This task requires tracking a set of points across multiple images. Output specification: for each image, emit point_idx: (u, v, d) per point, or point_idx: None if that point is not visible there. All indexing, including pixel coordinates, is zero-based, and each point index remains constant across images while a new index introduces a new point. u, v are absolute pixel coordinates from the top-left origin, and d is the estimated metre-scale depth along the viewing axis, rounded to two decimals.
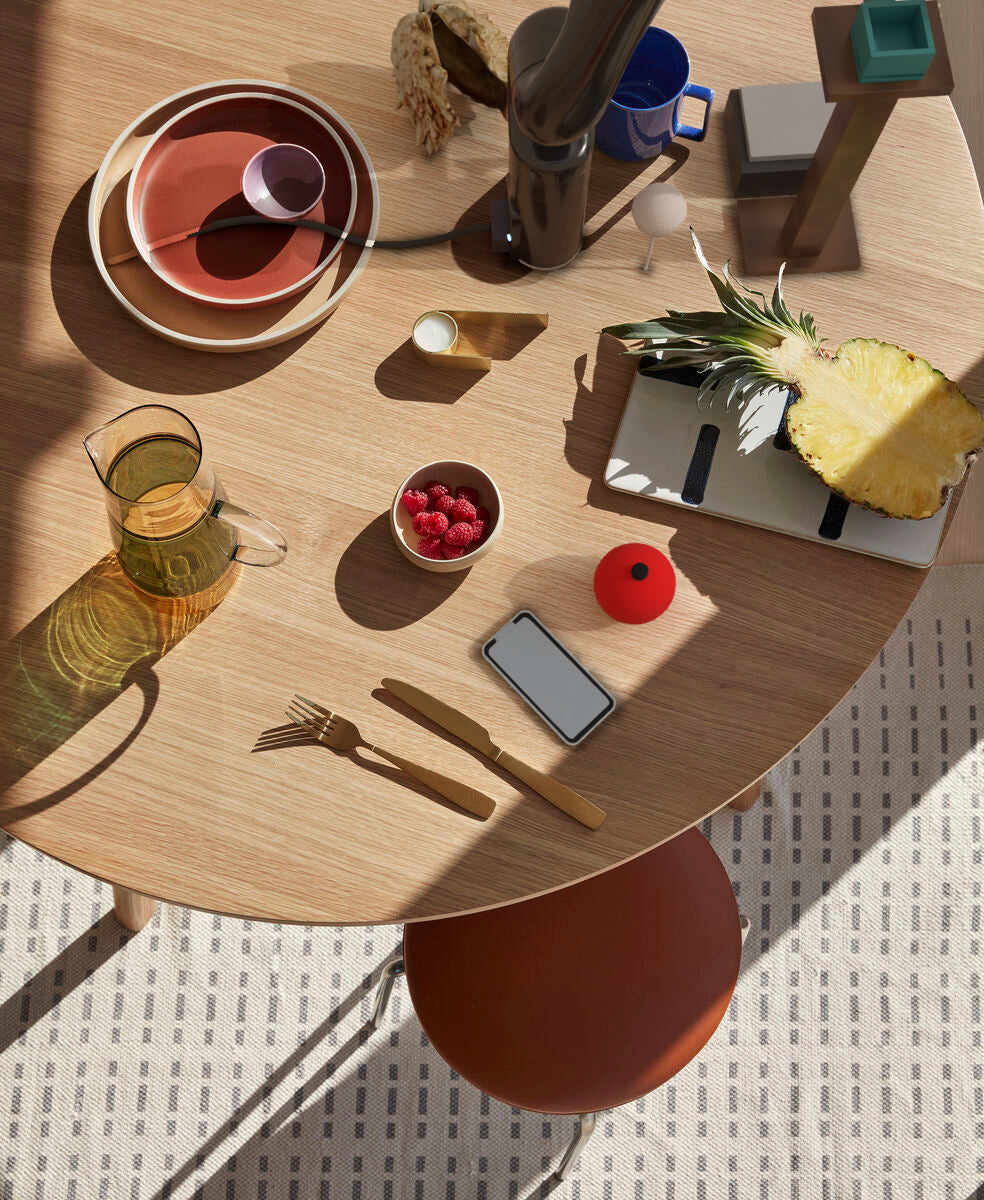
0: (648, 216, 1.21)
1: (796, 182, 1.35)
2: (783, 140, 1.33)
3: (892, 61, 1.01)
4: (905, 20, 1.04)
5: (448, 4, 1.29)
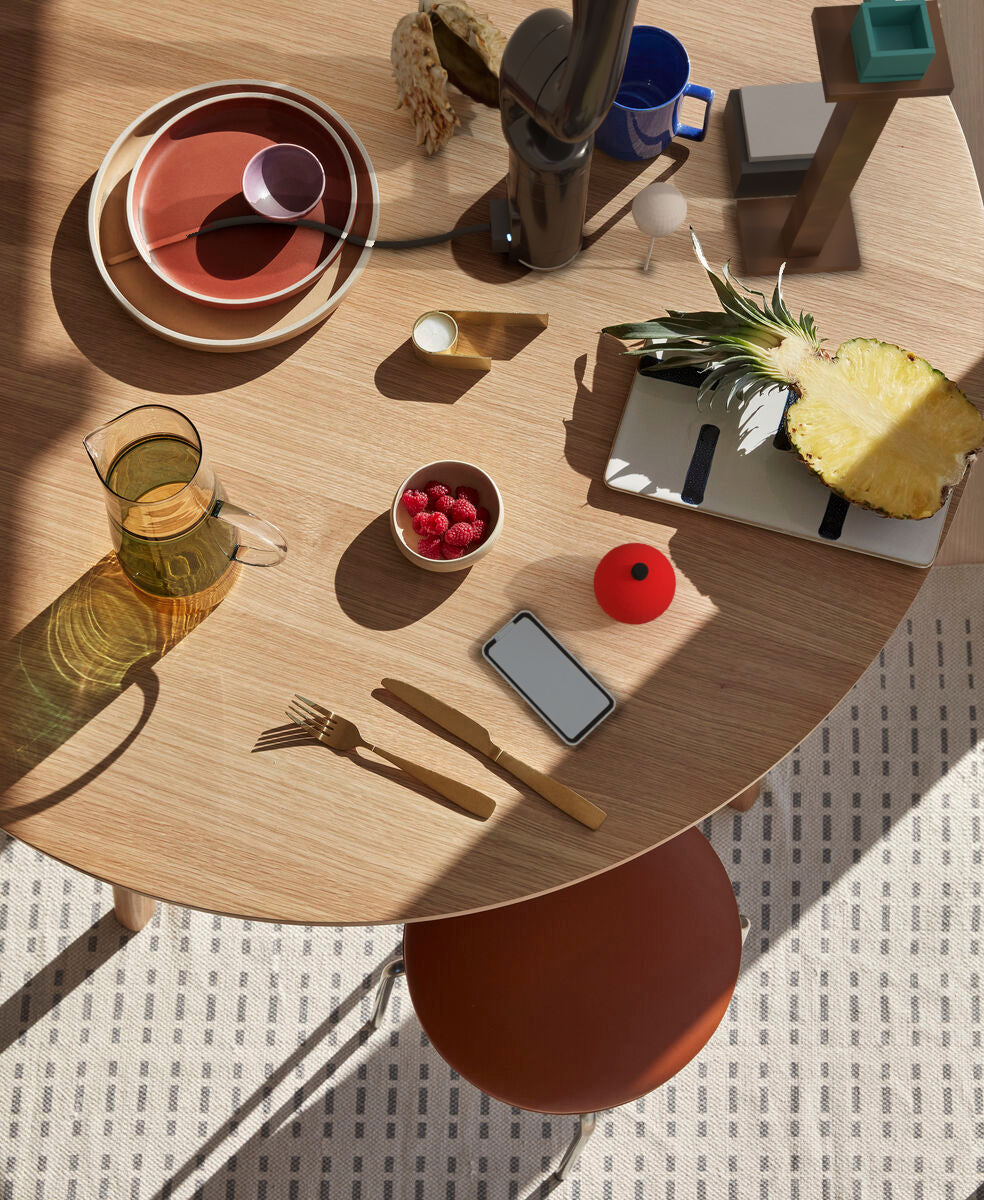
0: (648, 216, 1.21)
1: (796, 182, 1.35)
2: (783, 140, 1.33)
3: (892, 61, 1.01)
4: (905, 20, 1.04)
5: (448, 4, 1.29)
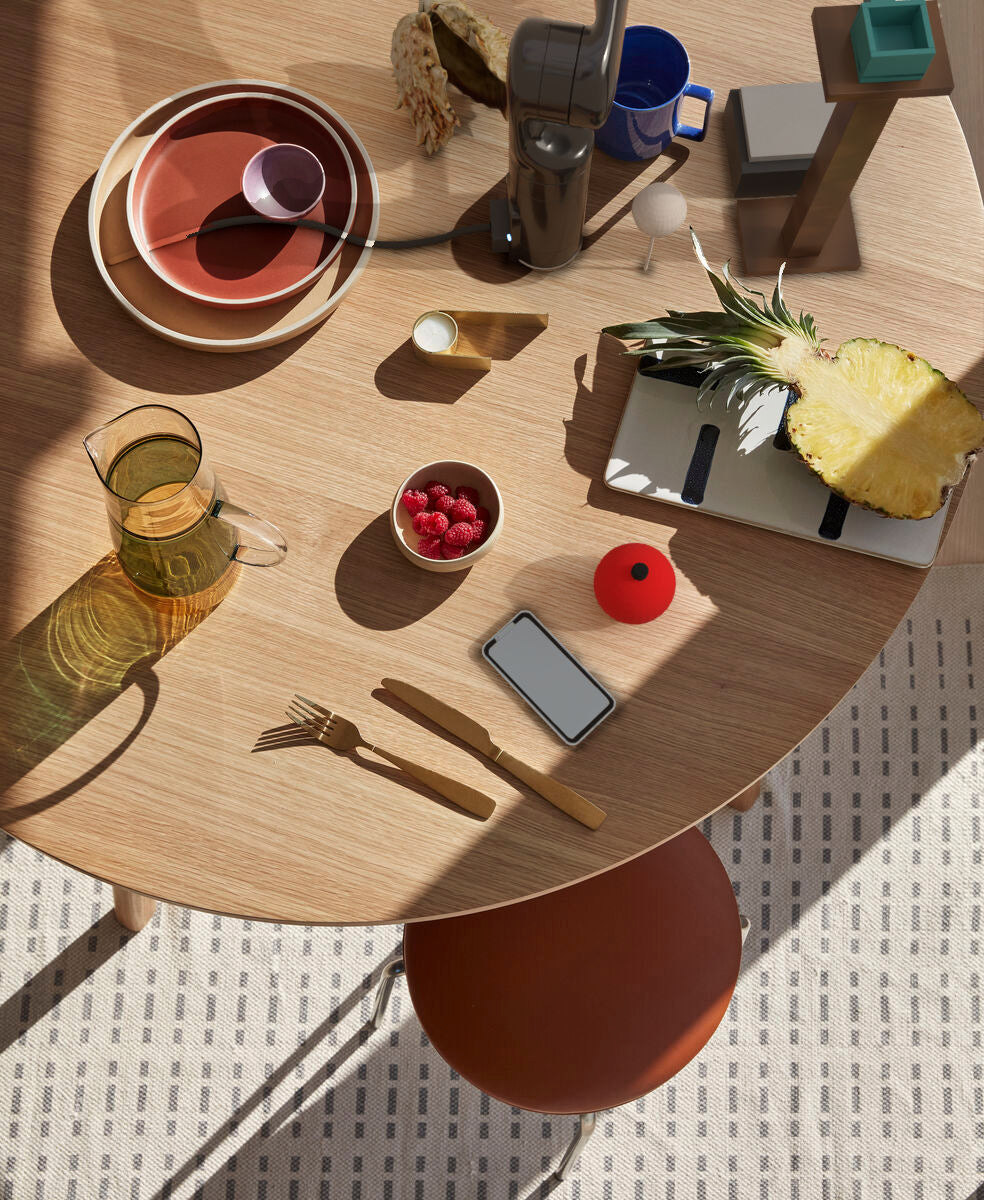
0: (648, 216, 1.21)
1: (796, 182, 1.35)
2: (783, 140, 1.33)
3: (892, 61, 1.01)
4: (905, 20, 1.04)
5: (448, 4, 1.29)
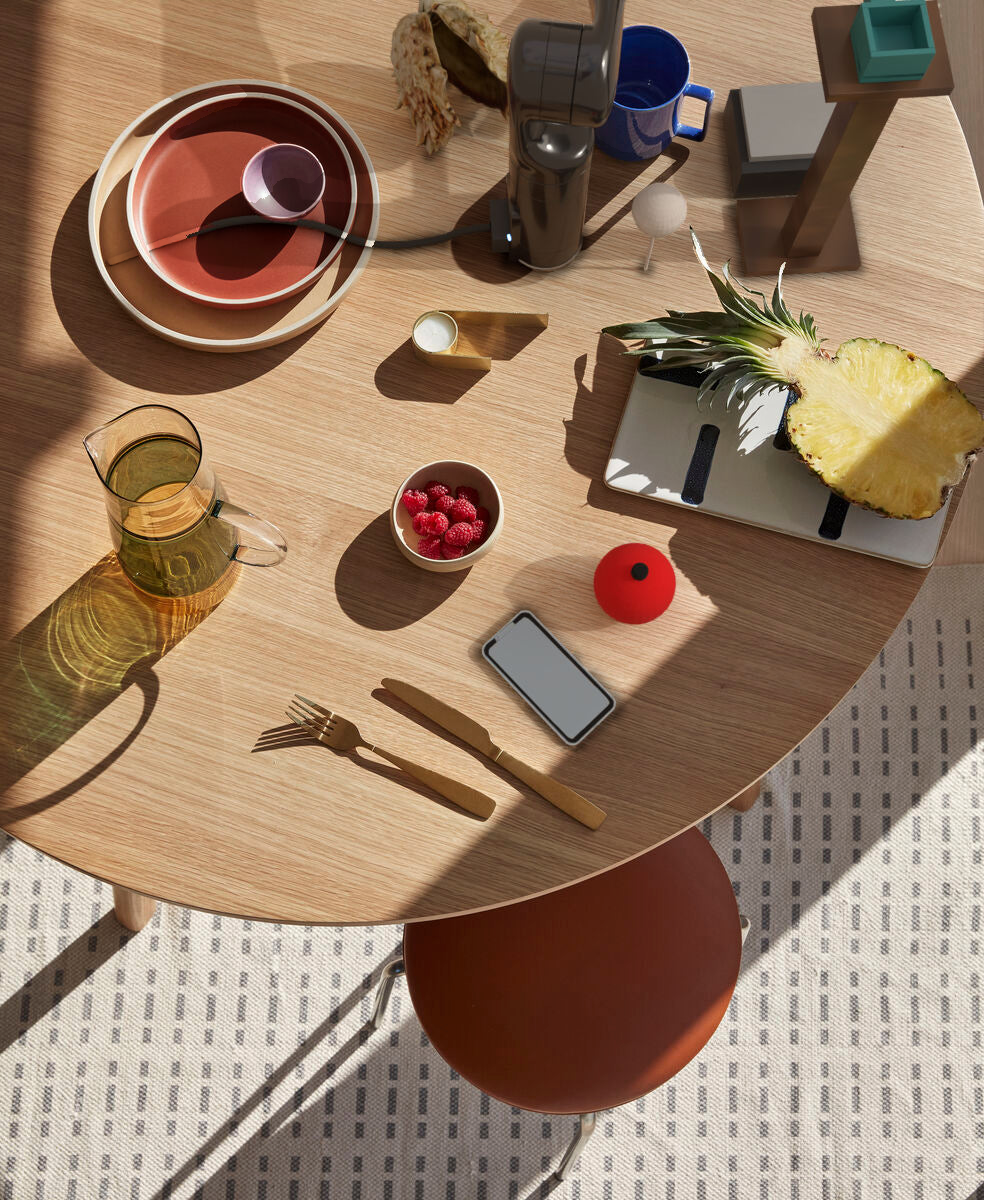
0: (648, 216, 1.21)
1: (796, 182, 1.35)
2: (783, 140, 1.33)
3: (892, 61, 1.01)
4: (905, 20, 1.04)
5: (448, 4, 1.29)
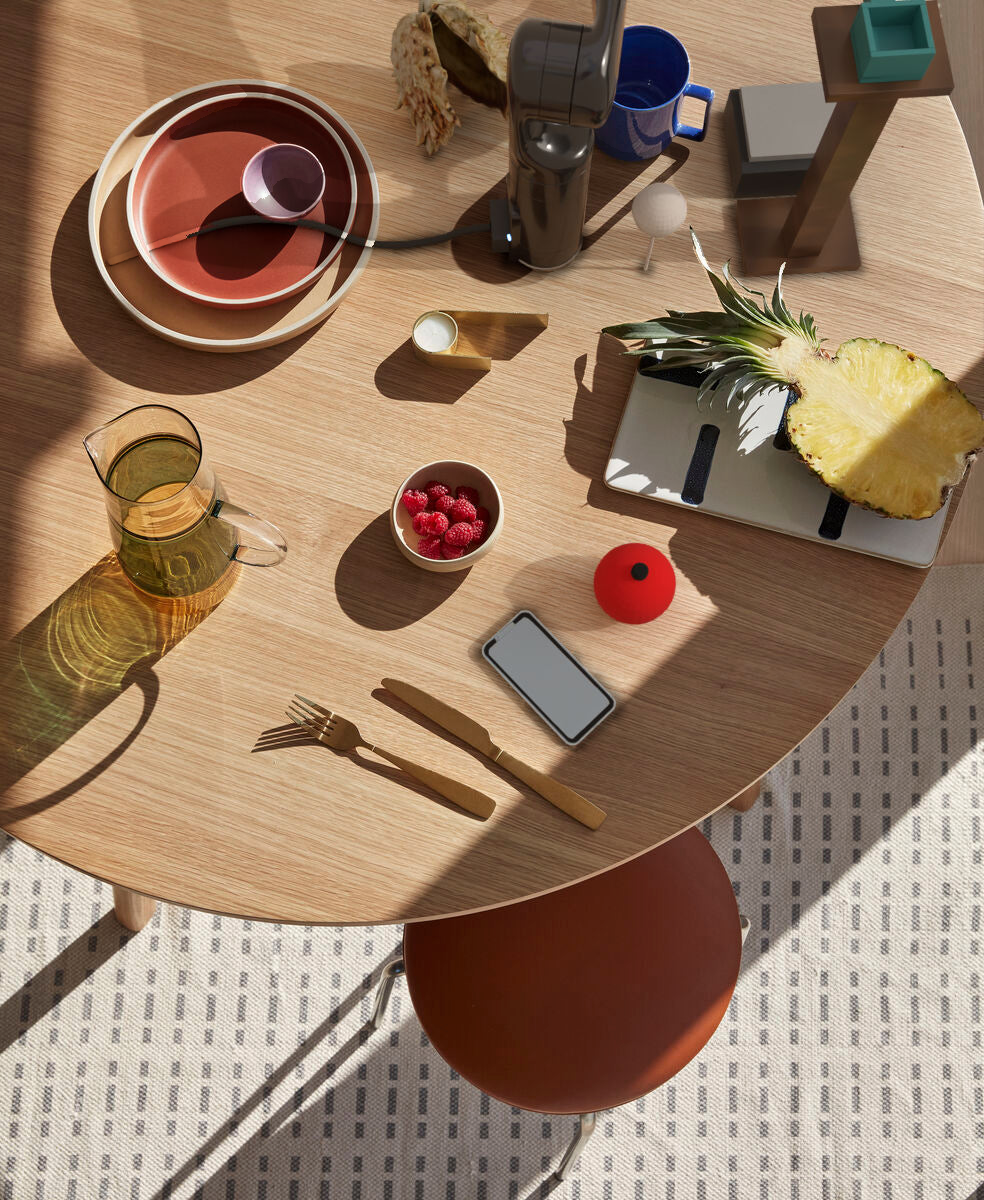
0: (648, 216, 1.21)
1: (796, 182, 1.35)
2: (783, 140, 1.33)
3: (892, 61, 1.01)
4: (905, 20, 1.04)
5: (448, 4, 1.29)
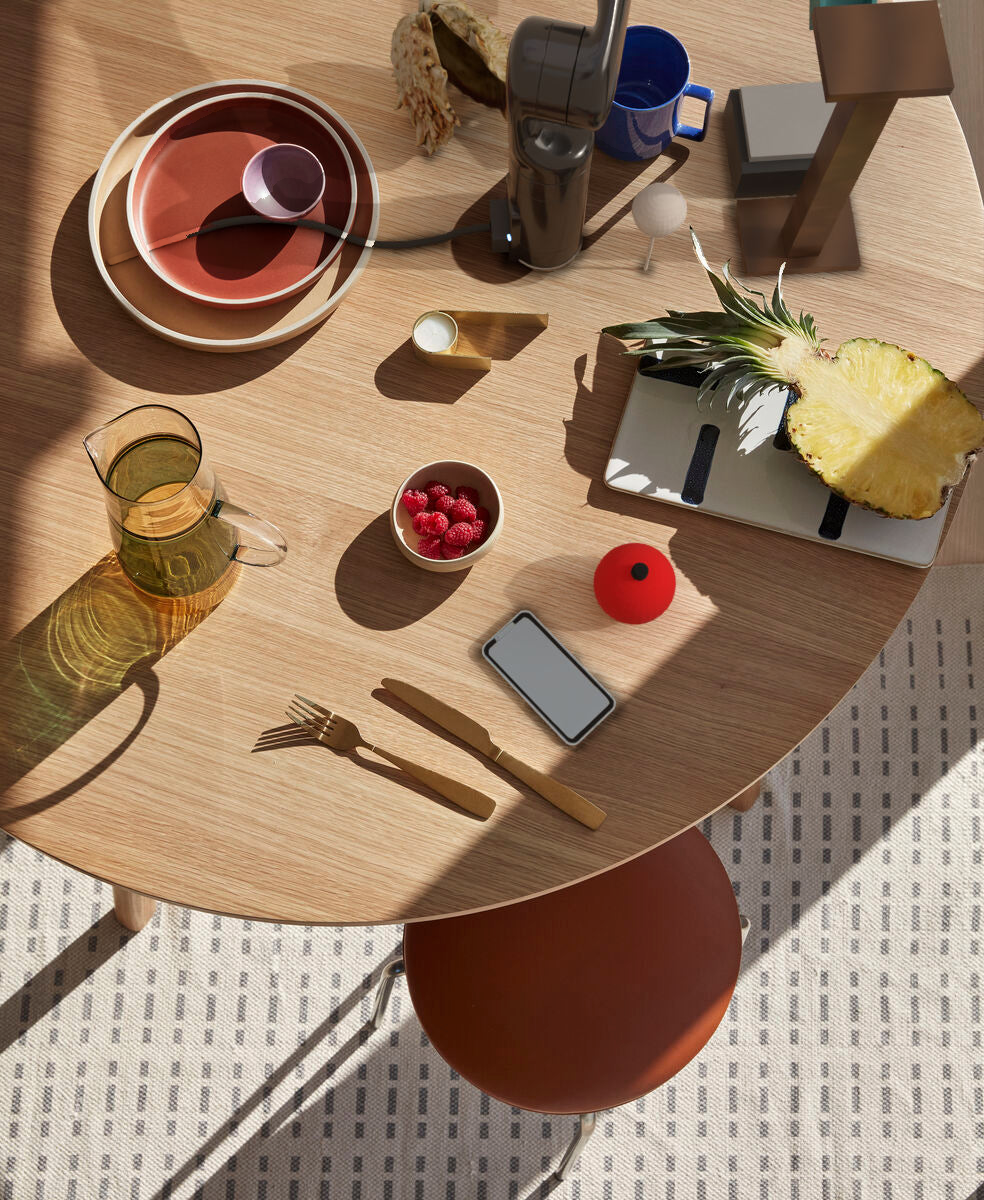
0: (648, 216, 1.21)
1: (796, 182, 1.35)
2: (783, 140, 1.33)
3: None
4: None
5: (448, 4, 1.29)
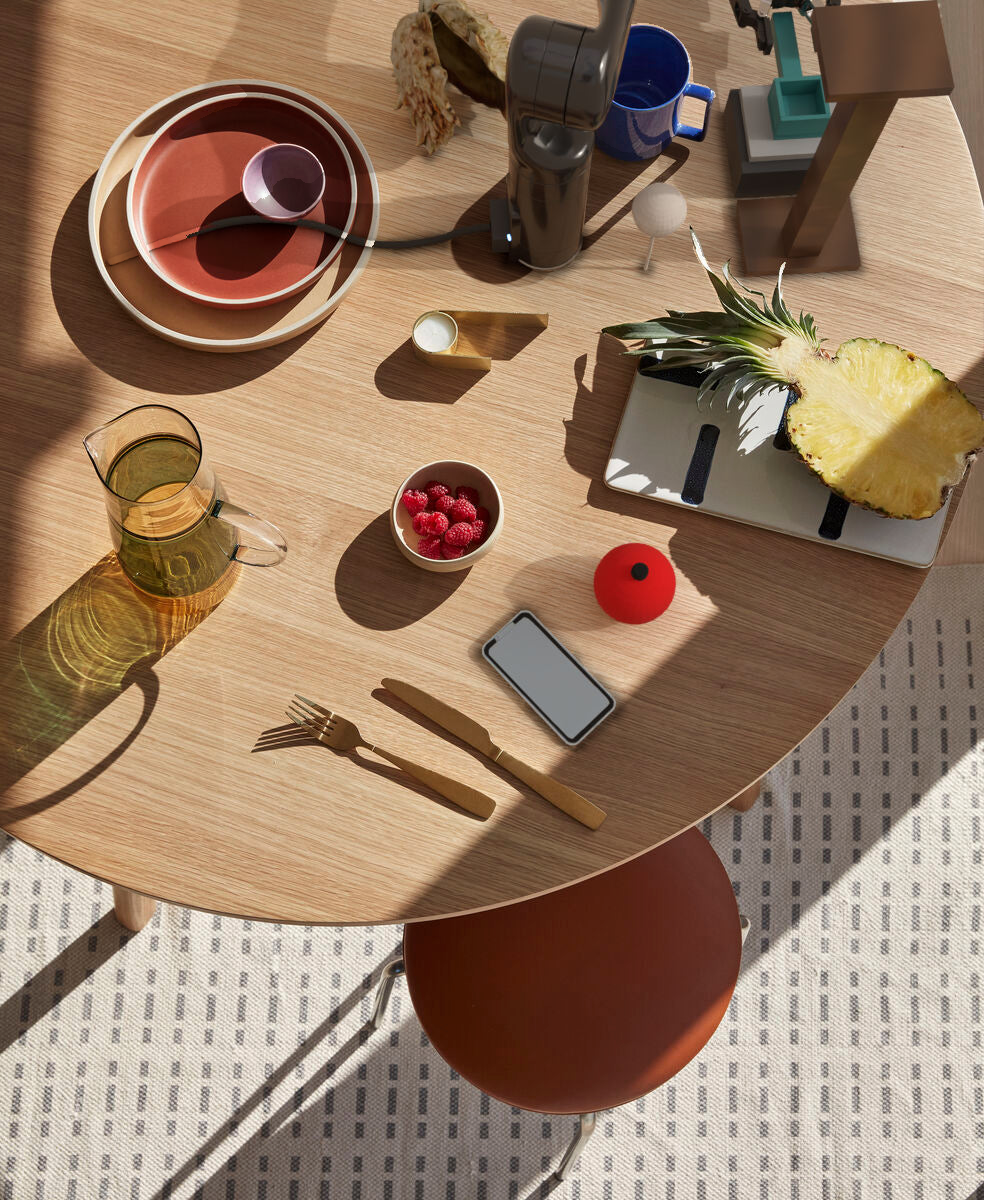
0: (648, 216, 1.21)
1: (796, 182, 1.35)
2: (783, 140, 1.33)
3: (798, 124, 1.30)
4: (809, 90, 1.33)
5: (448, 4, 1.29)
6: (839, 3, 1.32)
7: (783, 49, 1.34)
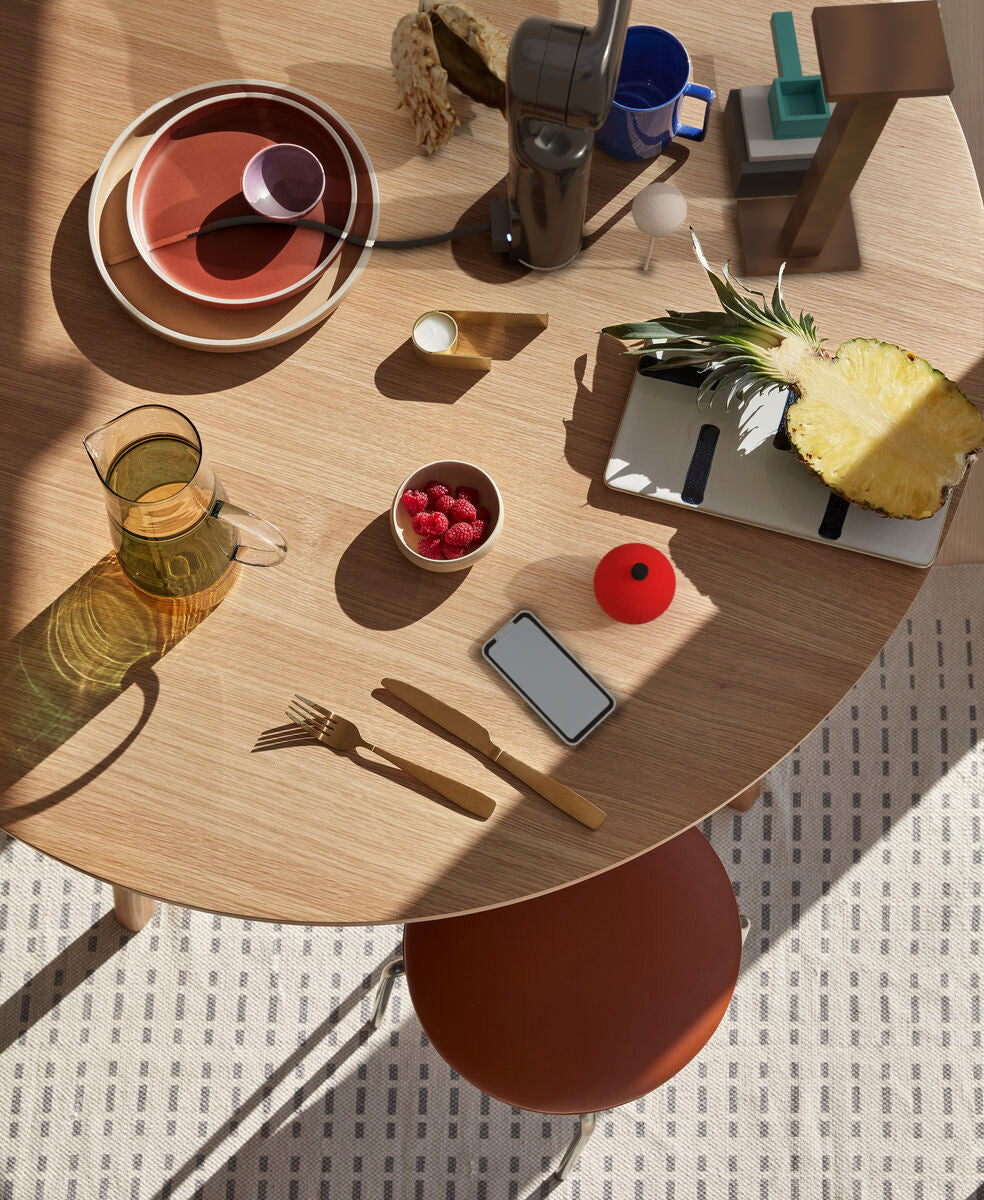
0: (648, 216, 1.21)
1: (796, 182, 1.35)
2: (783, 140, 1.33)
3: (798, 124, 1.30)
4: (809, 90, 1.33)
5: (448, 4, 1.29)
6: None
7: (783, 49, 1.34)
